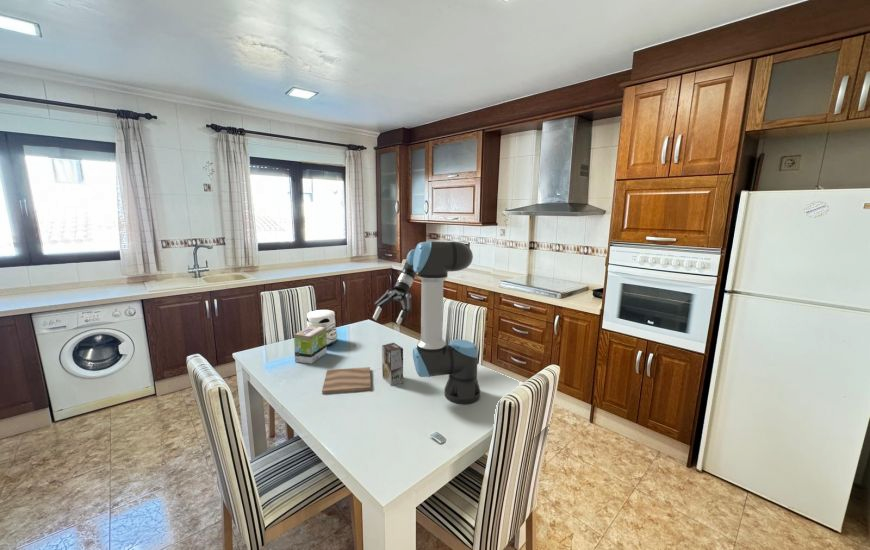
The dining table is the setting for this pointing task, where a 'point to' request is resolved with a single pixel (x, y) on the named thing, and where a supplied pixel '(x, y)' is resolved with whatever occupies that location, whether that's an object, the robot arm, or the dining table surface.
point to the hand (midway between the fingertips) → (385, 321)
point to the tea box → (310, 344)
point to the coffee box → (392, 363)
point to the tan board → (347, 380)
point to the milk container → (324, 323)
